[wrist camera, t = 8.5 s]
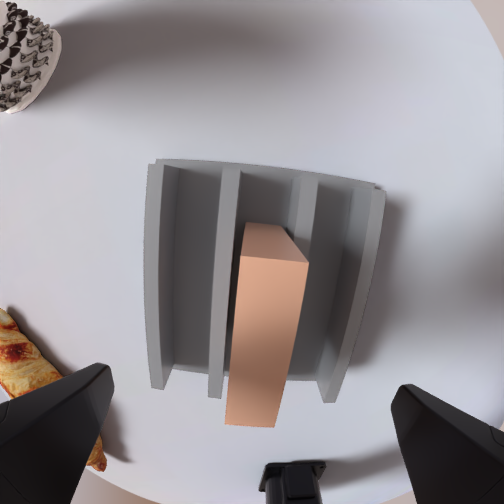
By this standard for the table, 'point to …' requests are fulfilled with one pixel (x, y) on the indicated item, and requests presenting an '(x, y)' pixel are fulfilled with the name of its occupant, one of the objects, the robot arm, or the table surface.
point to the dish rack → (228, 262)
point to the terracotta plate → (264, 324)
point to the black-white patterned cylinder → (24, 57)
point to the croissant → (31, 373)
